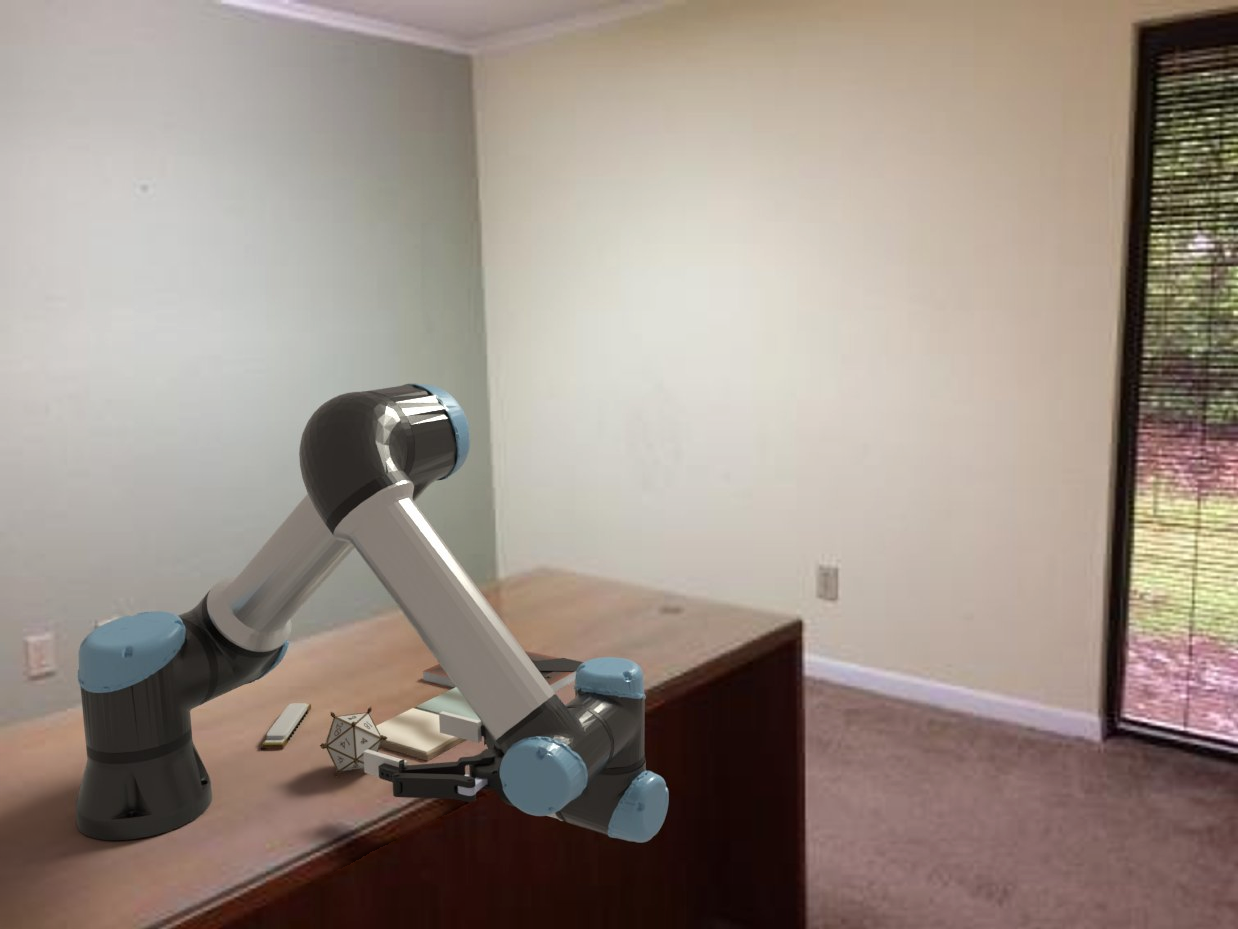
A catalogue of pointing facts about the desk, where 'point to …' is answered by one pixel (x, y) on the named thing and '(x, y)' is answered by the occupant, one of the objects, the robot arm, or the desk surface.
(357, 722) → the game die
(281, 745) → the harmonica
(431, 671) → the picture frame
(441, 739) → the board
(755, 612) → the desk surface
